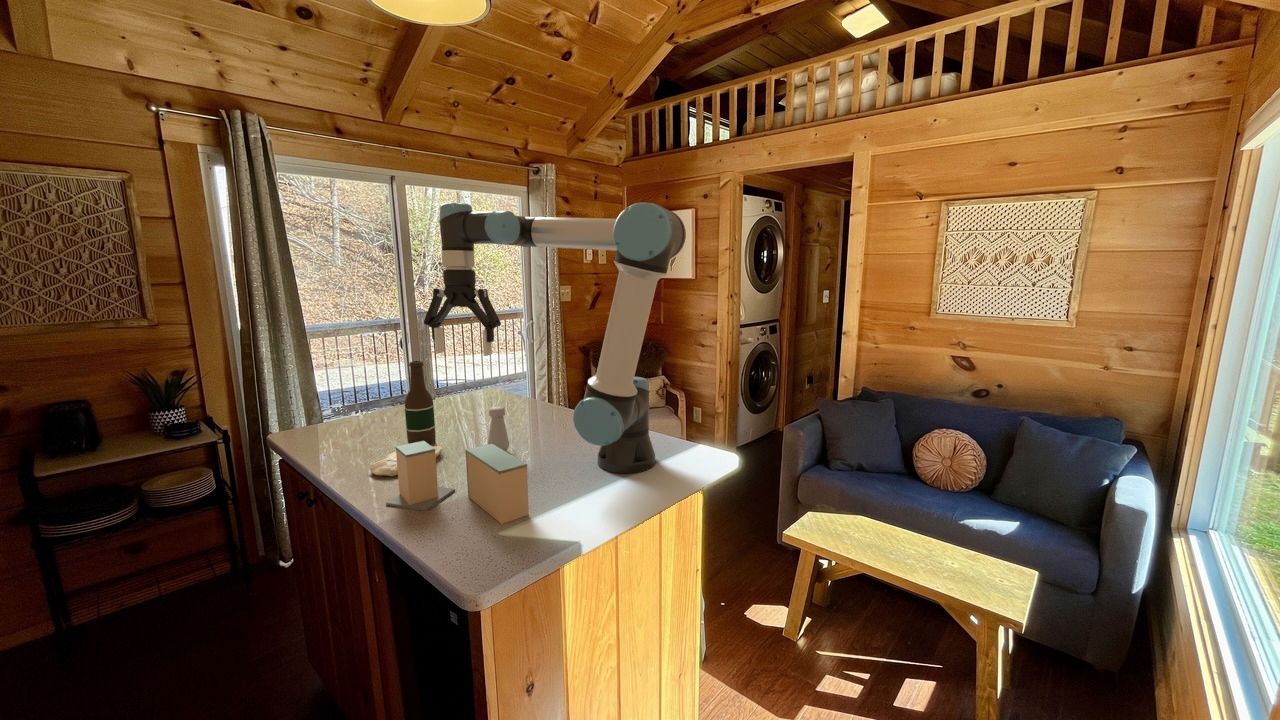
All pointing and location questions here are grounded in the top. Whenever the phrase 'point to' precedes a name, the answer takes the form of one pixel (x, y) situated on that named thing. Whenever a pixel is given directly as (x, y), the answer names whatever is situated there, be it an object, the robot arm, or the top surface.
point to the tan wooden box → (497, 482)
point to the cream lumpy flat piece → (392, 464)
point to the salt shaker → (498, 428)
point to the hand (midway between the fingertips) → (463, 354)
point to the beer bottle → (419, 408)
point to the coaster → (423, 505)
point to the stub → (417, 472)
